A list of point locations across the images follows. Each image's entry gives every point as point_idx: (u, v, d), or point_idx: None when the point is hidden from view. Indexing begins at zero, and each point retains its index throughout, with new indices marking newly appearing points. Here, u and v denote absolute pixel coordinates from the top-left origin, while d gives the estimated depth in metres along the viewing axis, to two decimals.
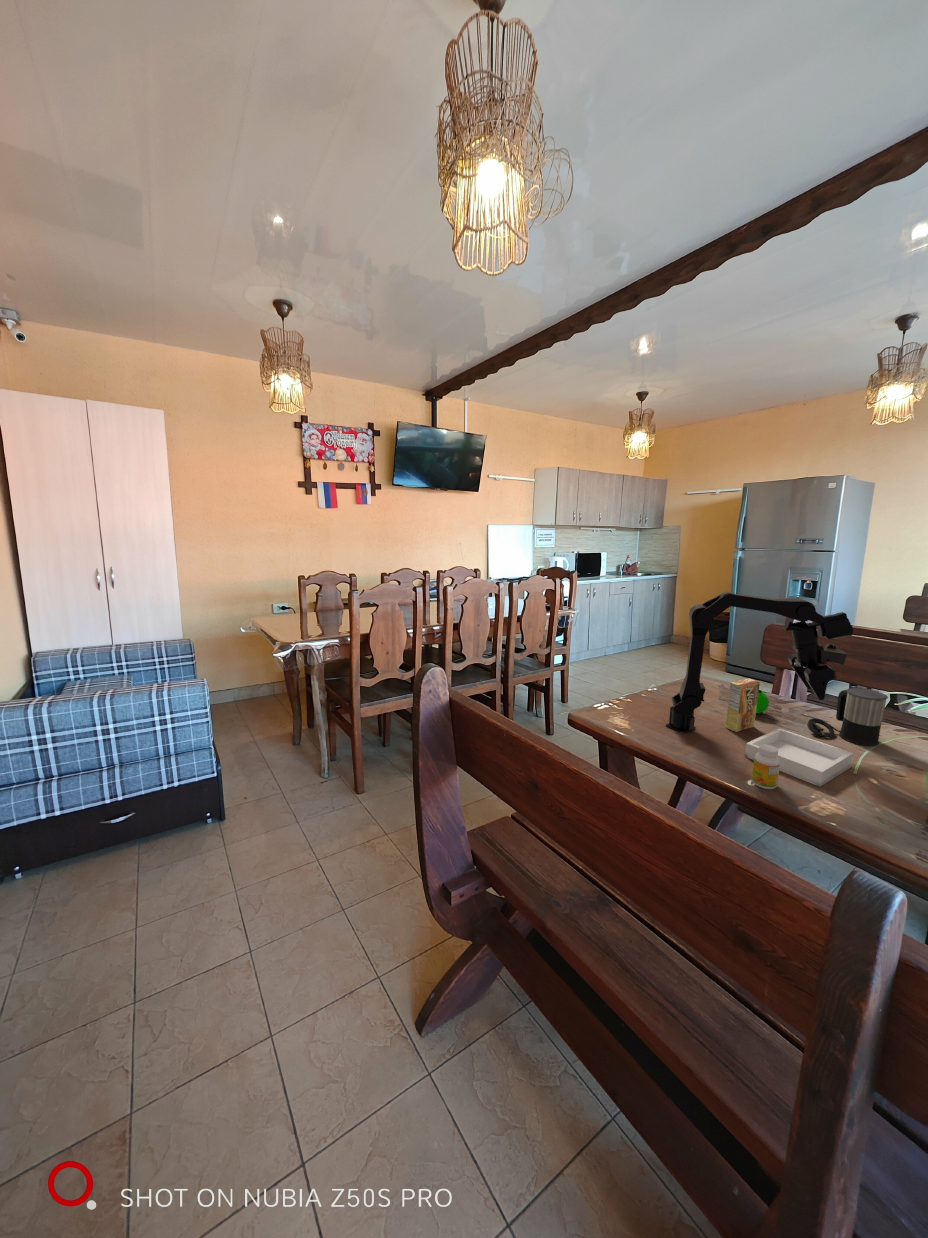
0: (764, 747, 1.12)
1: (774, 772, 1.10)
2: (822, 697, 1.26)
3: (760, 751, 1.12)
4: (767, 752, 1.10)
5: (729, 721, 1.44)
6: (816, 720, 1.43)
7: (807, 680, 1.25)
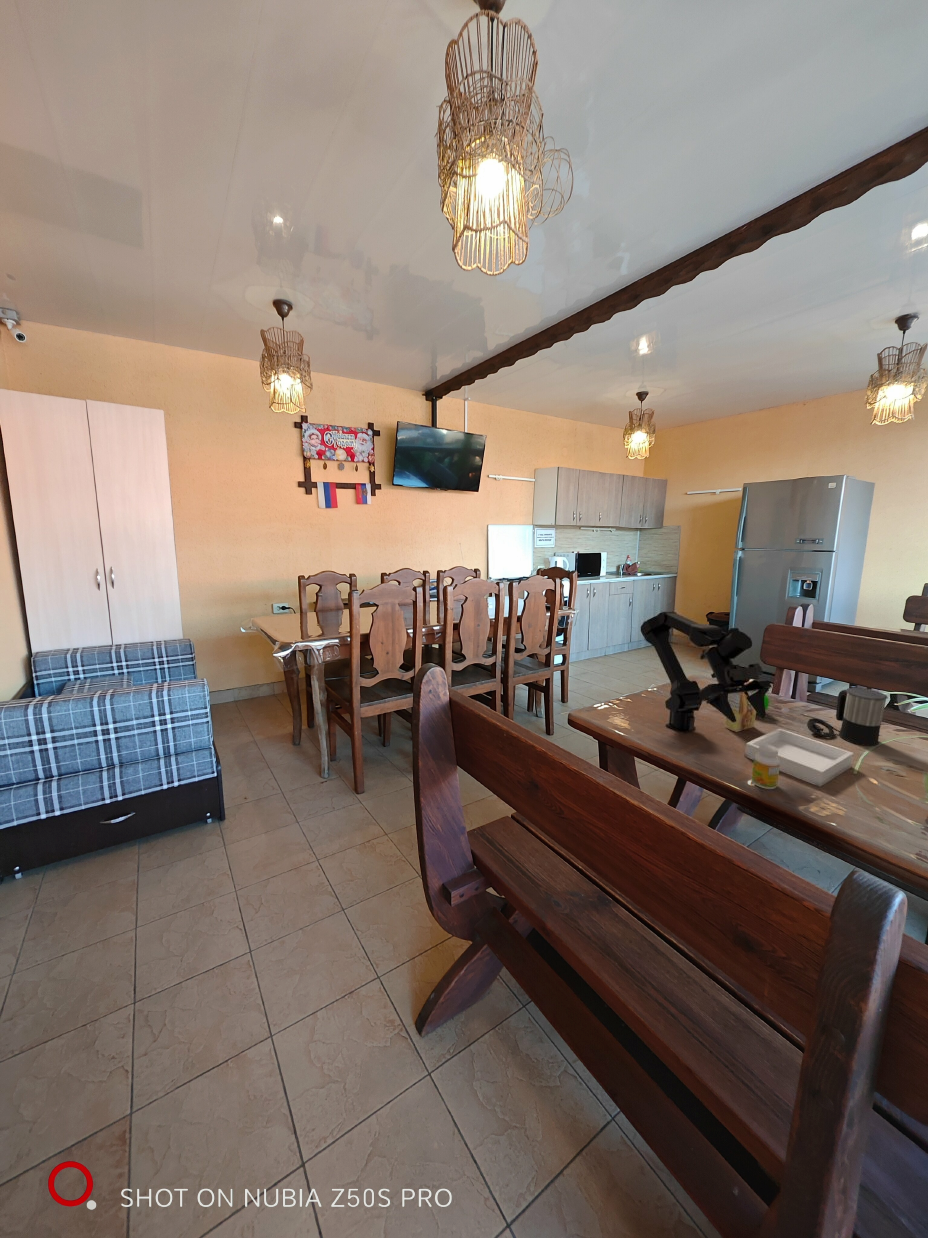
0: (764, 747, 1.12)
1: (774, 772, 1.10)
2: (732, 718, 1.18)
3: (760, 751, 1.12)
4: (767, 752, 1.10)
5: (729, 721, 1.44)
6: (816, 720, 1.43)
7: None
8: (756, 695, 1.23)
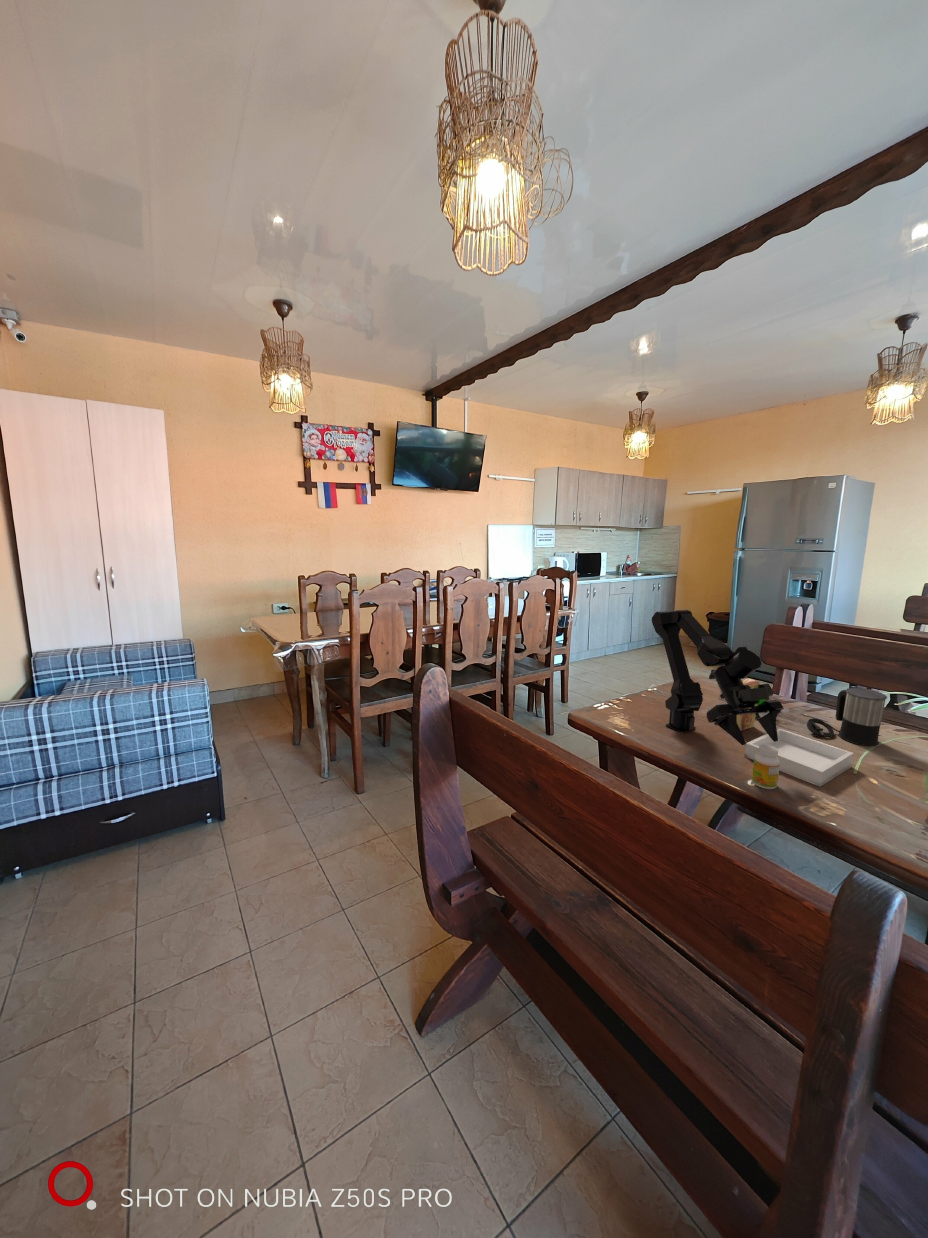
0: (764, 747, 1.12)
1: (774, 772, 1.10)
2: (741, 741, 1.14)
3: (760, 751, 1.12)
4: (767, 752, 1.10)
5: None
6: (815, 720, 1.43)
7: None
8: (767, 717, 1.18)
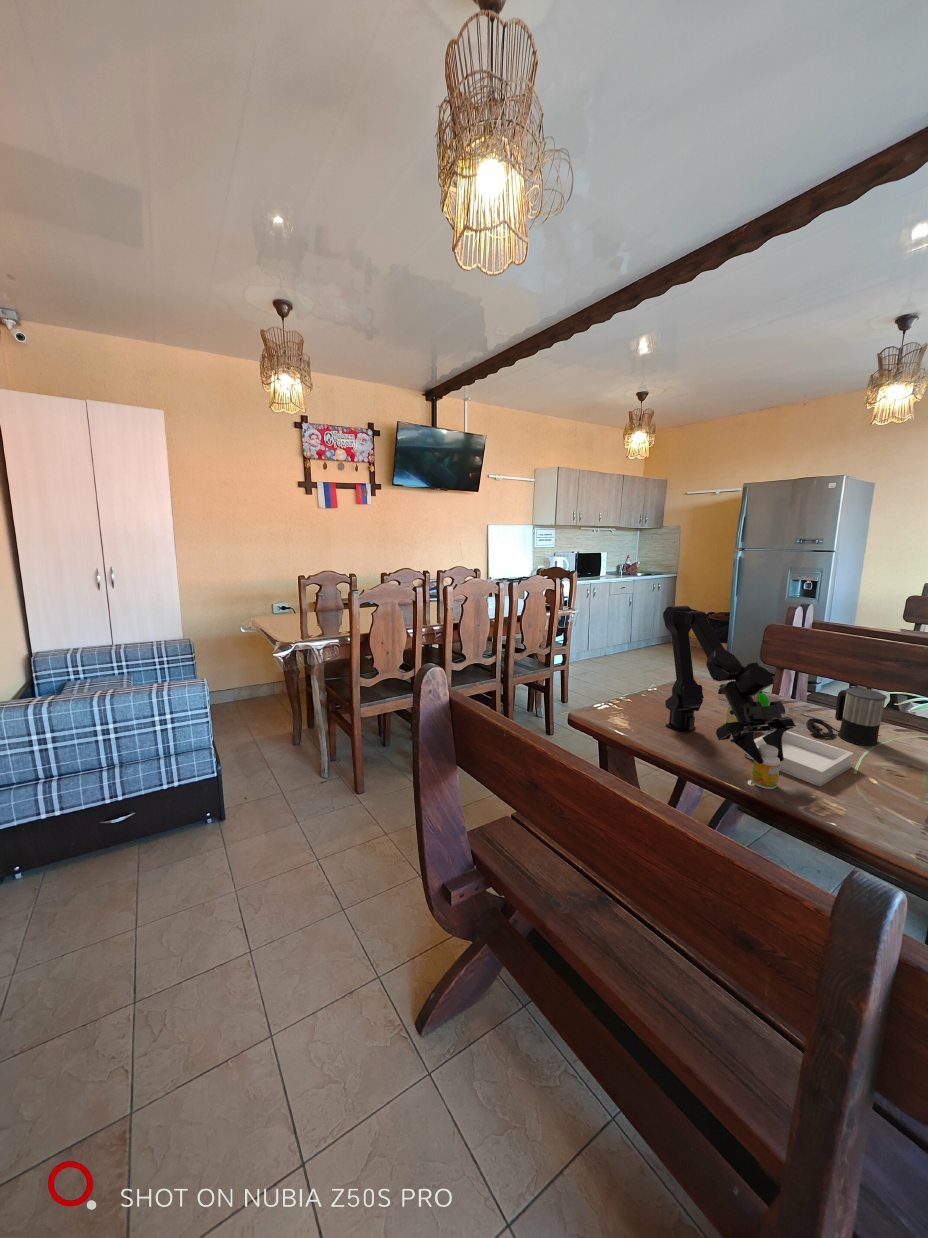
0: (764, 747, 1.12)
1: (774, 772, 1.10)
2: (759, 760, 1.11)
3: (760, 751, 1.12)
4: (767, 752, 1.10)
5: (729, 721, 1.44)
6: (815, 720, 1.43)
7: None
8: (772, 736, 1.14)
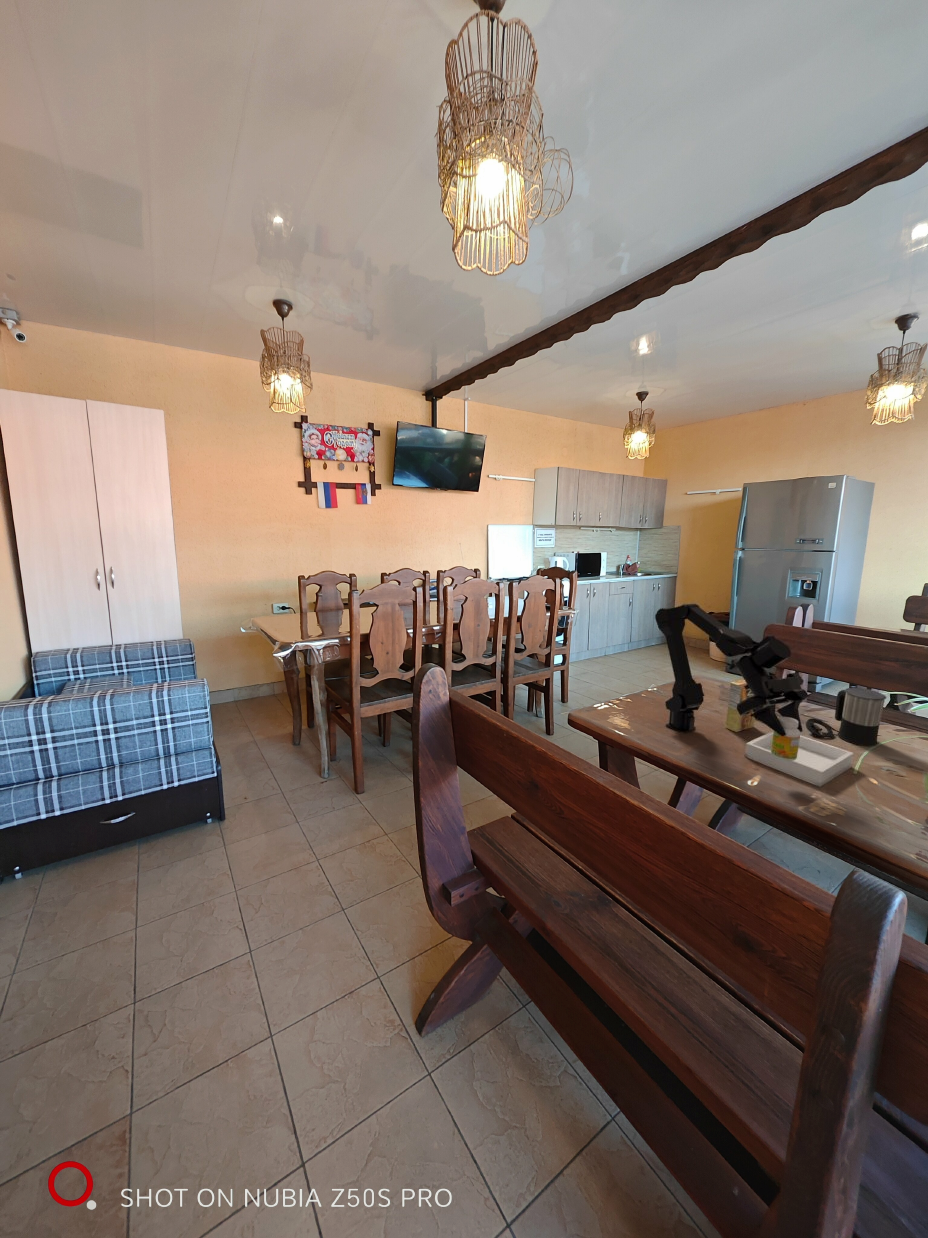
0: (784, 720, 1.12)
1: (795, 744, 1.10)
2: (781, 732, 1.11)
3: (781, 724, 1.12)
4: (789, 724, 1.10)
5: (729, 721, 1.44)
6: (815, 720, 1.43)
7: None
8: (789, 708, 1.15)
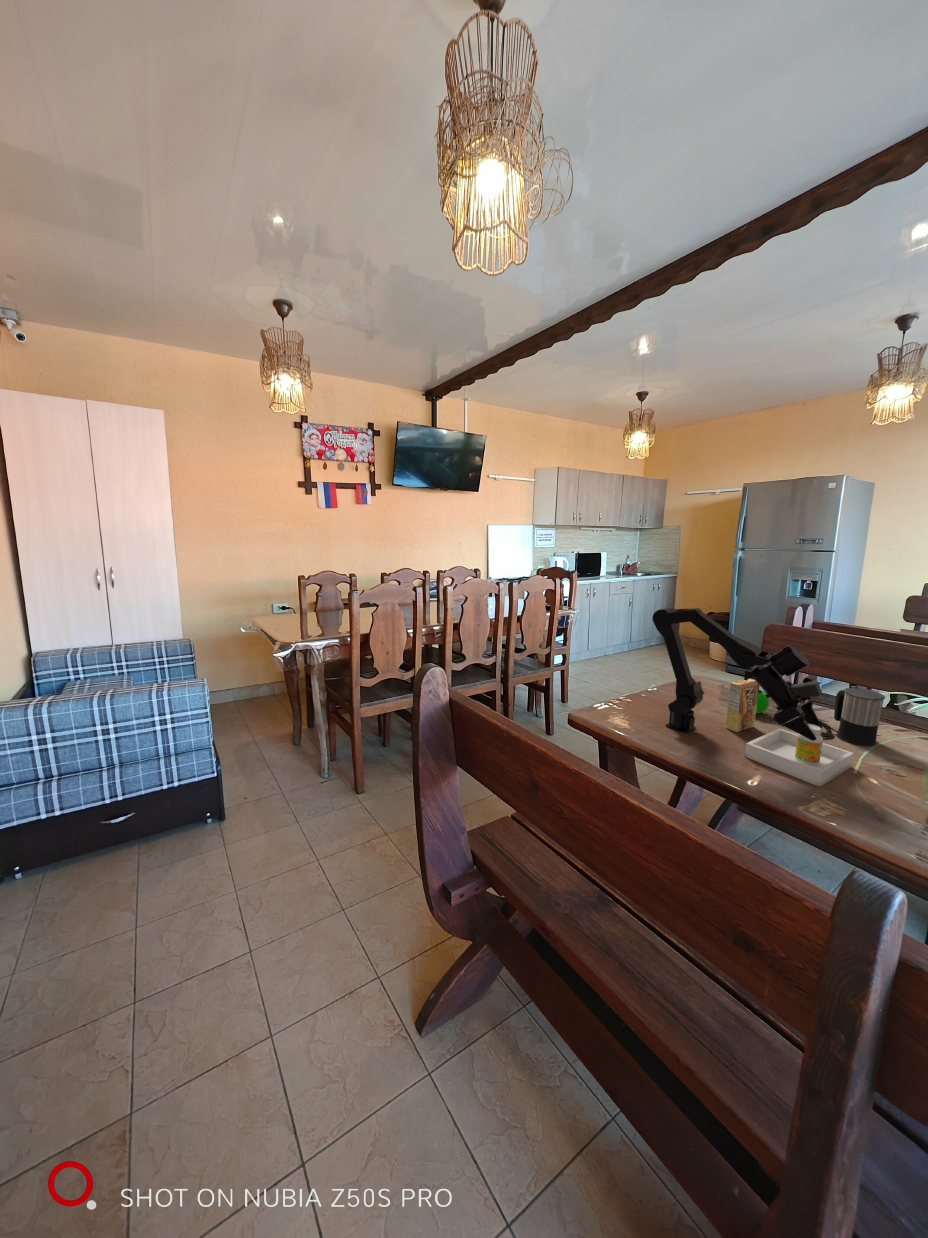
0: None
1: (821, 748, 1.20)
2: (812, 737, 1.17)
3: None
4: (816, 731, 1.19)
5: (729, 721, 1.44)
6: None
7: (781, 724, 1.20)
8: (806, 708, 1.25)
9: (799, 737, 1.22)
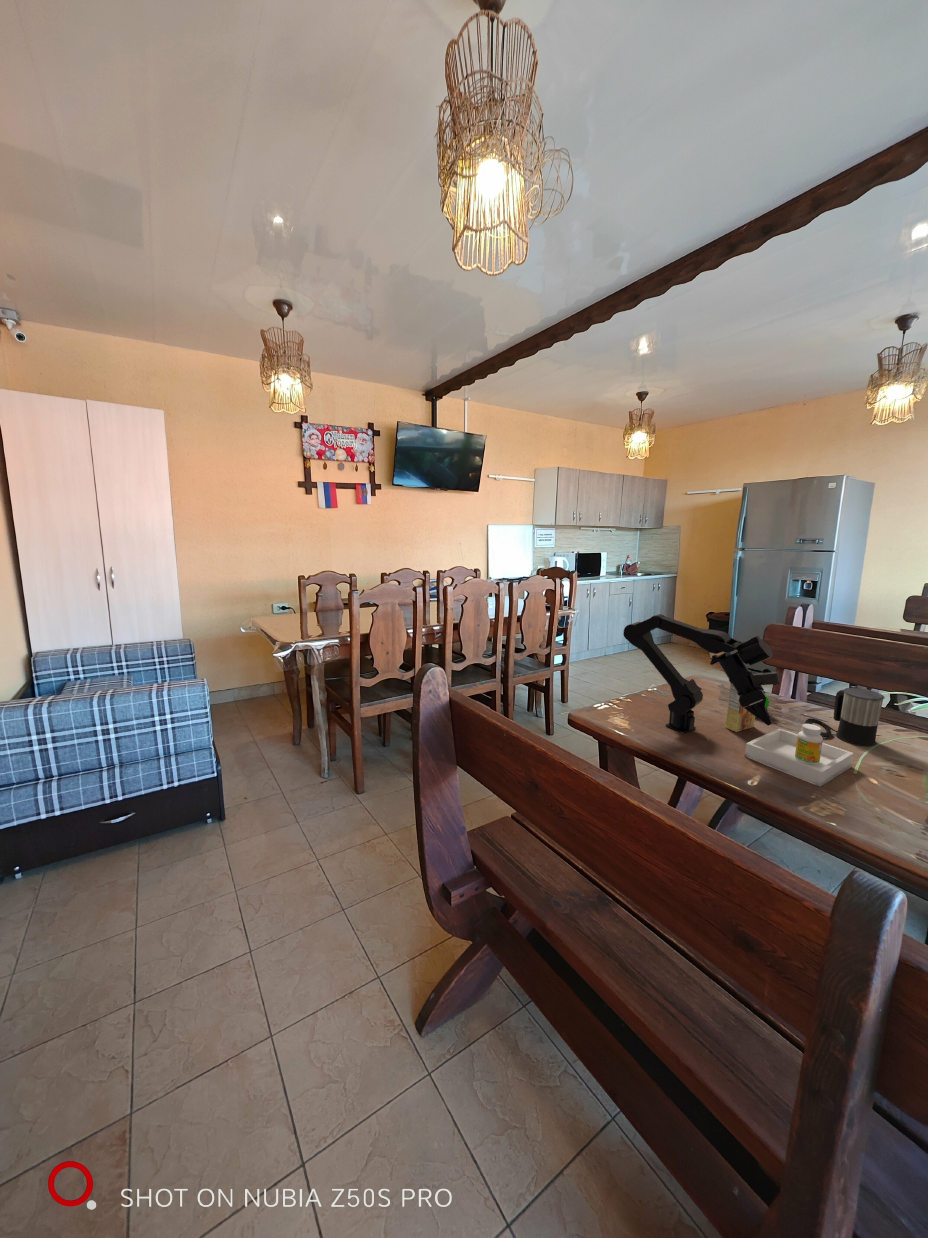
0: (809, 727, 1.21)
1: (821, 748, 1.20)
2: (768, 722, 1.23)
3: (809, 732, 1.20)
4: (816, 731, 1.19)
5: (729, 721, 1.44)
6: (813, 720, 1.43)
7: None
8: None
9: (799, 737, 1.22)
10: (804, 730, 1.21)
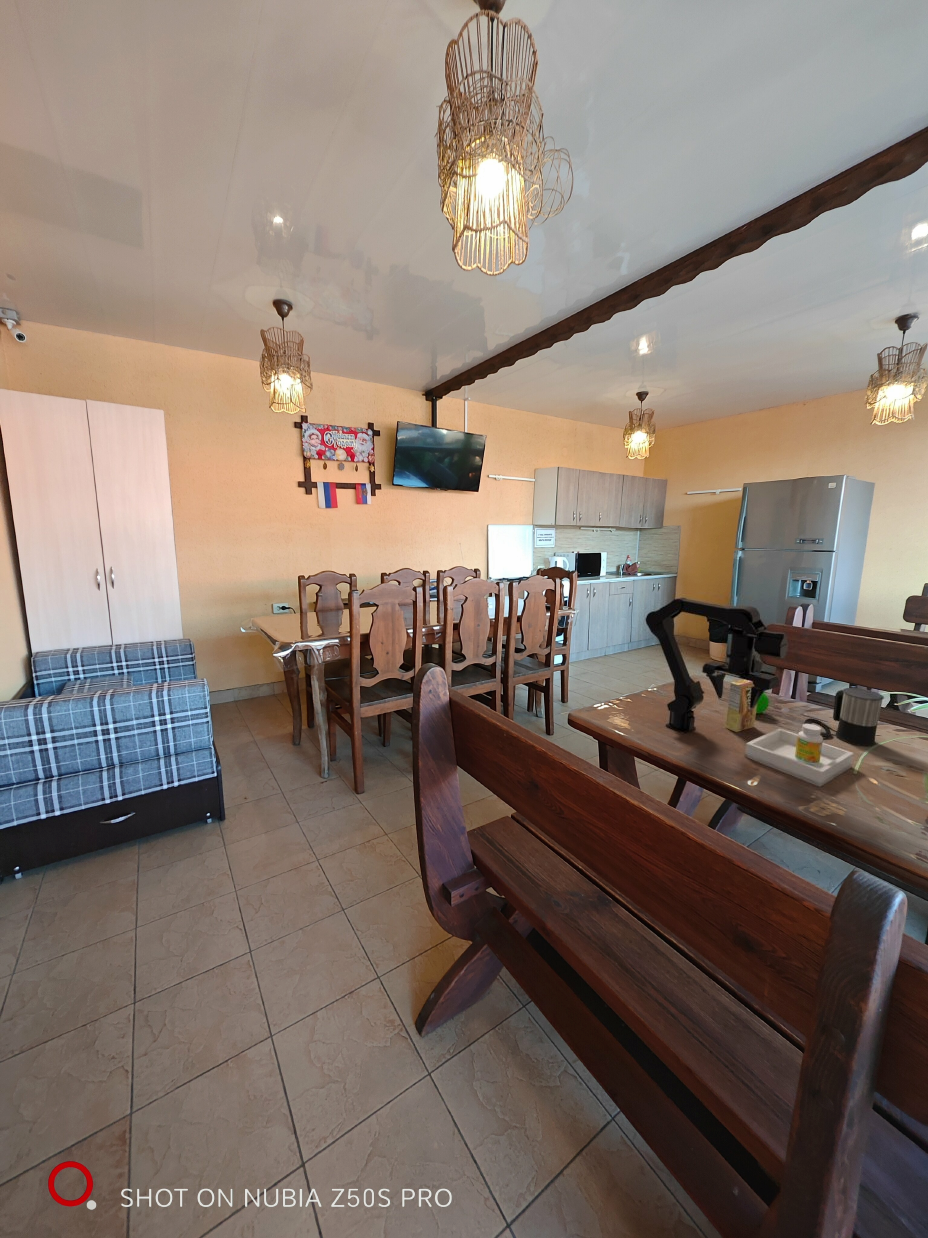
0: (809, 727, 1.20)
1: (821, 748, 1.20)
2: (754, 705, 1.27)
3: (809, 732, 1.20)
4: (816, 731, 1.19)
5: (729, 721, 1.44)
6: (813, 720, 1.43)
7: (758, 689, 1.23)
8: (721, 678, 1.35)
9: (799, 737, 1.22)
10: (804, 730, 1.21)
